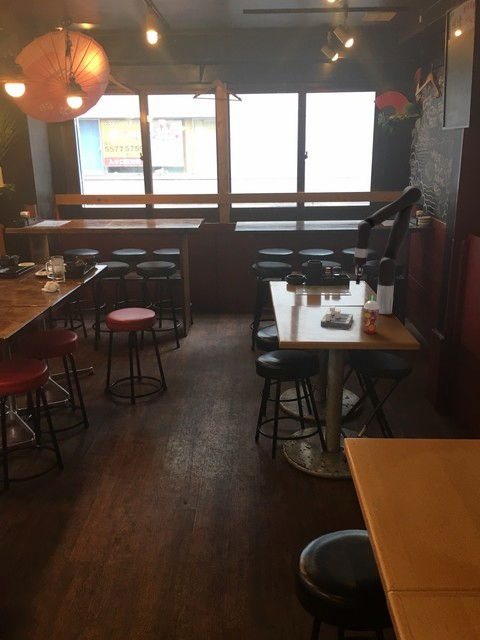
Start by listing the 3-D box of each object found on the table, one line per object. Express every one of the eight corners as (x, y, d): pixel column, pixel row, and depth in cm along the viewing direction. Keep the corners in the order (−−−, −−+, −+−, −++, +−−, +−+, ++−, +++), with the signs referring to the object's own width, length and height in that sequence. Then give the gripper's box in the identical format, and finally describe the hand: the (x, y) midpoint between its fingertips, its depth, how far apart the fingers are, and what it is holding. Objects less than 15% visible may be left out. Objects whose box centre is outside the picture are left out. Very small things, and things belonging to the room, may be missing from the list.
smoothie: (366, 328, 304) (368, 292, 298) (380, 331, 299) (383, 295, 293) (358, 332, 298) (361, 295, 292) (373, 335, 293) (376, 298, 287)
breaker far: (334, 312, 322) (335, 306, 321) (333, 315, 318) (333, 308, 316) (330, 312, 323) (331, 305, 322) (329, 314, 318) (329, 307, 317)
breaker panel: (352, 319, 321) (353, 314, 320) (348, 329, 303) (348, 323, 302) (326, 317, 325) (327, 312, 324) (320, 326, 307) (320, 321, 306)
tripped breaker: (340, 316, 315) (340, 309, 314) (338, 318, 310) (339, 311, 309) (336, 315, 316) (336, 309, 315) (334, 318, 311) (335, 311, 310)
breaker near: (331, 318, 310) (331, 311, 309) (329, 321, 306) (330, 314, 305) (327, 318, 311) (327, 311, 310) (325, 320, 306) (325, 313, 305)
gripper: (368, 258, 320) (364, 286, 324) (366, 254, 333) (362, 280, 338) (354, 257, 321) (351, 284, 325) (353, 253, 334) (350, 279, 339)
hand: (357, 282), depth 332 cm, fingers open, 8 cm apart
